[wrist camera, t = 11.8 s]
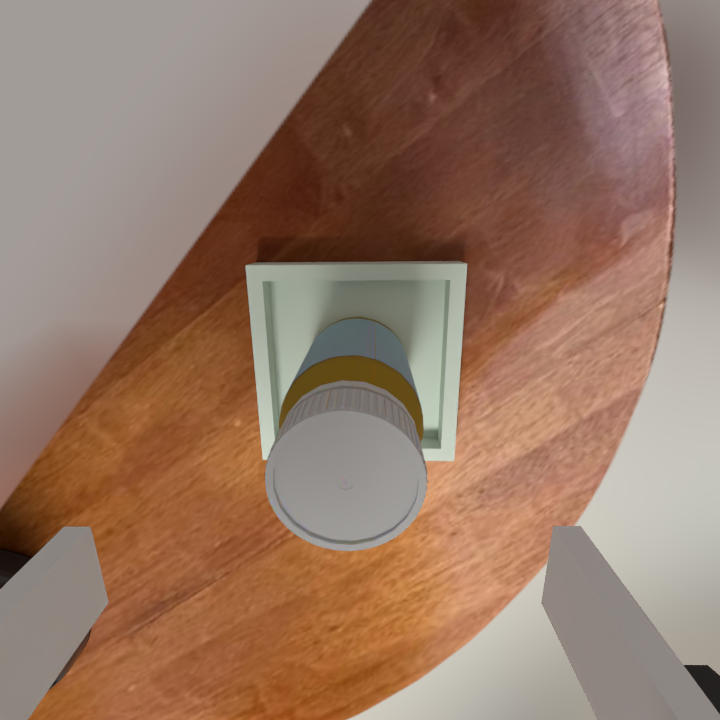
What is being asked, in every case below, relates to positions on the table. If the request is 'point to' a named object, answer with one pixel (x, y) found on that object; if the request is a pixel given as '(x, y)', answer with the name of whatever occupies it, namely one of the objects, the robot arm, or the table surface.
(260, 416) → the pale green square tray
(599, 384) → the table surface
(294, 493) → the bottle
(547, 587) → the robot arm
